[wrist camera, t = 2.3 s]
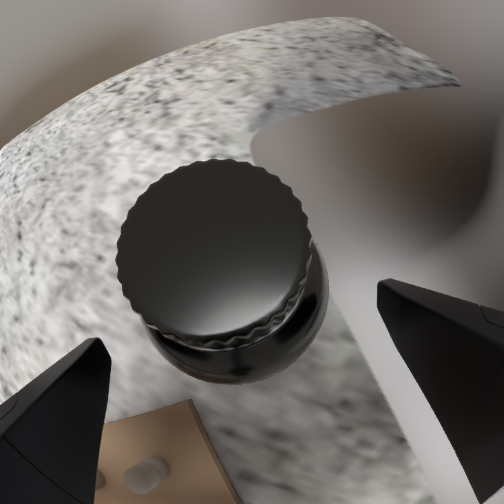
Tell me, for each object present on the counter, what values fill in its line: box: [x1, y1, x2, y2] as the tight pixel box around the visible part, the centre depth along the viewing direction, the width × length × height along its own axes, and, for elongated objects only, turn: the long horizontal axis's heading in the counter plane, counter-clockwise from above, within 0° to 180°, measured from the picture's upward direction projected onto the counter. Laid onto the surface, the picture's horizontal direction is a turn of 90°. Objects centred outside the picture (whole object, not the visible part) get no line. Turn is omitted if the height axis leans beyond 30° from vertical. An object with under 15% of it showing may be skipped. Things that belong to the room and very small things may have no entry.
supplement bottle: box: [115, 159, 329, 385], centre depth 12 cm, size 7×7×12 cm
